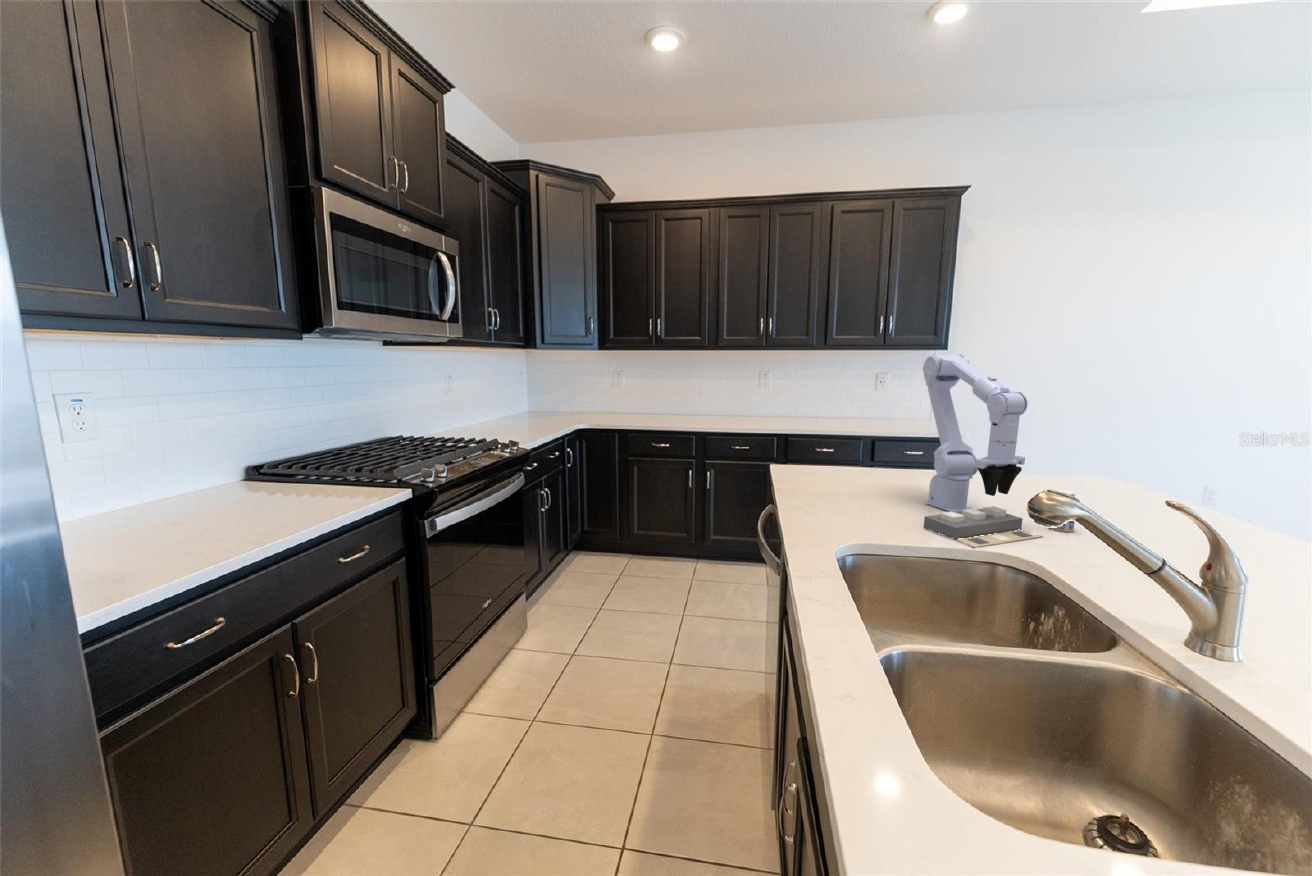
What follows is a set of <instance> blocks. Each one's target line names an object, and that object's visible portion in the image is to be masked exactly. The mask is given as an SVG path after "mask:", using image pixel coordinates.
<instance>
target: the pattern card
mask: <svg viewBox="0 0 1312 876" xmlns="http://www.w3.org/2000/svg"><path fill="white" fill-rule="evenodd" d="M1030 533H1034V532H1032V531H1029V530H1026V529H1021V530H1017V531H1011V532H1004V533H997V534H991V535H984V536H978V537H971V538H964V539H958V540H957V541H956V542H958V541H959V543H960V542H961V543H960V544H963V543H965V544H966V546H968V545H969V546H968V547H971V548H973V547H979V548H985V547H992V546H998V545H1002V543H1004V544H1010V543H1017V542H1022V541H1021V540H1023V541H1027V540H1026V539H1029V540H1031V539H1030V538H1035V539H1038V538H1037V537H1041V538H1044V535H1041V534H1039V535H1035V536H1034V535H1032V534H1030ZM965 544H964V545H965ZM997 544H998V545H997Z"/></svg>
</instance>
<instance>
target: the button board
mask: <svg viewBox="0 0 1312 876" xmlns="http://www.w3.org/2000/svg"><path fill="white" fill-rule="evenodd" d="M977 510H978V511H981V512H983V508H978V509H977ZM955 513H958V514H961V515H962V512H955ZM940 517H941V513H940V514H933V515H924V520H923V528H924V529H925V528H926V529H925V530H928V529H930V530H932V531H931V532H933V531H934V532H933V533H935V532H936V533H935V534H938V533H940V534H943V535H945V536H947V537H946V538H948V537H949V538H948V539H950V538H953V539H958V538H969V537H974V536H980V535H988V534H994V533H1004V532H1009V531H1015V530H1018V529H1021V530H1022V529H1023V528H1022V527H1023V520H1024V518H1022V517H1019V516H1016V515H1014V514H1010V513H1007V512H1006V517H1000V518H994V517H991V516H988V515H986V517H985V520H978V521H973V520H970V519H967V518H965V517H964V523H957V524H951V523H949V522H946V521H943V520H941V519H940ZM930 530H929V531H930ZM940 534H939V535H940ZM943 535H942V536H943ZM945 536H944V537H945ZM953 539H952V540H953Z"/></svg>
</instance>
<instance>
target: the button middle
mask: <svg viewBox="0 0 1312 876" xmlns="http://www.w3.org/2000/svg"><path fill="white" fill-rule="evenodd" d="M962 515H964V516H965V518H967V519H970V520H973V521H978V520H985V517H986V513H984V512H981V511H978V509H975V508H974V509H968V510H962Z"/></svg>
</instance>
